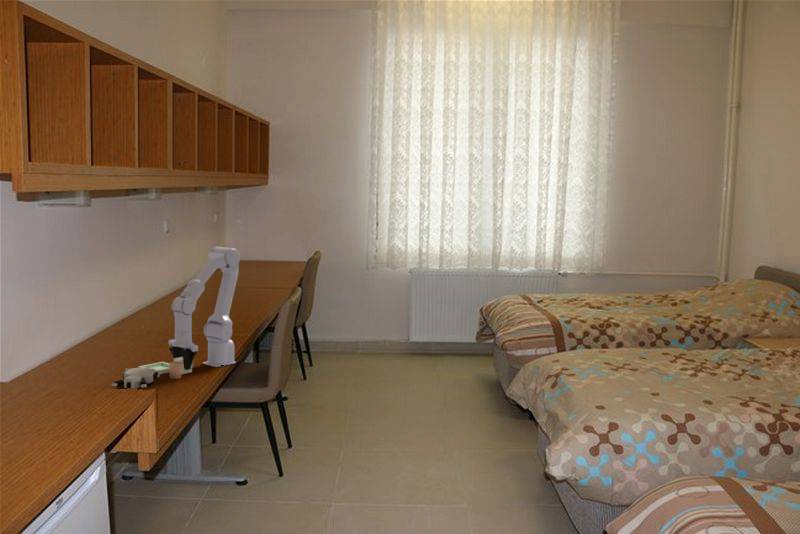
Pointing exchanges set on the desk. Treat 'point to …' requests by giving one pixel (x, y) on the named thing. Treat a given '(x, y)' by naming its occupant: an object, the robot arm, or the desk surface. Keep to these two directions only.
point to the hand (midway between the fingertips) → (183, 368)
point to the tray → (158, 367)
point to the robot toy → (137, 378)
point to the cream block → (180, 359)
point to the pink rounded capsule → (175, 370)
